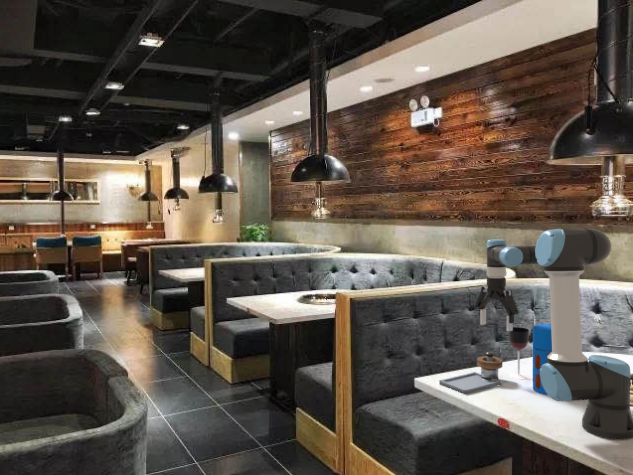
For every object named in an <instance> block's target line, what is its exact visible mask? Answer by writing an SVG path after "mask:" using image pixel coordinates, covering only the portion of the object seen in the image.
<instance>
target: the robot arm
mask: <svg viewBox="0 0 633 475" xmlns="http://www.w3.org/2000/svg"><path fill="white" fill-rule="evenodd" d="M611 250H612V243H611V240H610V238H609V236H607V234H605V233H604V232H603V231H601V230H599V229H595V228H586V227H585V228H555V229H548V230H545V231H543V232H542V233H541V234H540V235H539V237H538V239H537V241H536V244H535V245H507V241H506V239H501V238H500V239H498V238H497V239H496V238H494V239H492V238H491V239H488V240H487V241H486V276H487V277H486V285H483V286H481V288H480V293H479V295H478V298H477V300H476V302H475V304H474V306H475V308H478V315H479V316H478V317H479V319H480V320H479V321H480V322H479V325H481V326H484V325H486V324H487V309H486V307H487V305H488V304H489V303H490V301H491V300H496V301H499V302H500V303H501V305H502V306H503V308H504V310H505V312H507V315H506V332H509V331H513V325H514V323H515V316H516V315H519V313H520V312H519V310H518V307H517V304H516V302H515V299H514V297H513V290H512V289H508V290H506V286H507V278H506V276H507V267H517V266H528V265H535V266H536V265H539V266H541V267H543V272H544V273H545V275H546V276H548V279H549V301H550V302H549V303H550V305H549V306H550V325H551V334H552V352H551V353H550V354H549V355H548V356H547V363H545V364H543V365H542V366H541V369H540V378H541V382H542V385H543V388H544V390H545V391H546V393H547V394H548V395H547V396H548V397H549V398H550V399H551V400H553V401H556V402H567V403H569V402H576V401H587V402H588V404H587V405H586V408H585V411H584V412H583V415H582V420H581V426H582V429H584V430H585V431H586V432H587V433H590V434H592V435H594V436H597V437H600V438H605V439H609V440H617V441H619V440H620V441H621V440H622V441H623V440H630V439H633V414H632V410H631V378H632V376H631V367H630V365H629V363H627V362H626V361H624V360H621V359H618V358H617V357H616V358H615V357H612V356H611V357H610V356H607V355H606V356H605V355H600V354H591V355H589V356H588V357H587V356H586V355H585V354H584V353H583V343H582V338H583V337H582V321H581V320H582V318H581V316H582V315H581V297H580V296H581V294H580V293H581V292H580V276H581V275H582V274H583V273H584V272H585V266H588V265H596V264H600V263H601V262H603V261H605V260H606V259H607V258H608V257H609V255H610V254H611V252H612V251H611Z"/></svg>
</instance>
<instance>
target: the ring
mask: <svg viewBox="0 0 633 475" xmlns="http://www.w3.org/2000/svg"><path fill="white" fill-rule="evenodd" d="M476 360H477V361H476V364H477V367H479V368H480V369H481V368H486V369H498V370H499V369H501V368H503V358H500V357H498V356H497V357H496V356H493V362H489V361H487V355H484V356H479V357H476Z"/></svg>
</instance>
